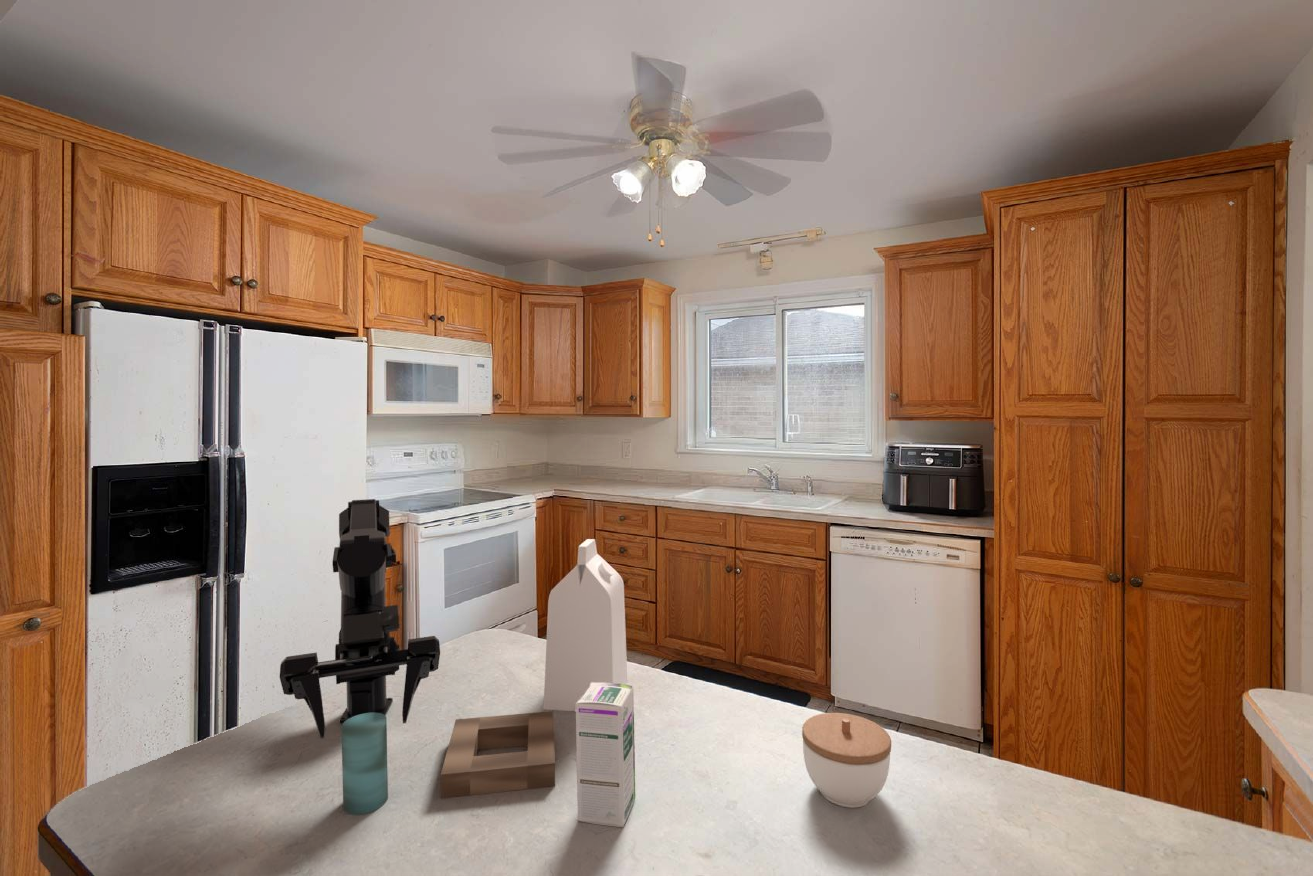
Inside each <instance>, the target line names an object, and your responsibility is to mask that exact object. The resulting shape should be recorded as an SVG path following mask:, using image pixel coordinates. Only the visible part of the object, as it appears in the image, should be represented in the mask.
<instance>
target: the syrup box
mask: <svg viewBox="0 0 1313 876" xmlns="http://www.w3.org/2000/svg"><path fill="white" fill-rule="evenodd" d="M575 705H576V711H575V740H576V741H575V742H576V745H575V747H576V748H575V750H576V781H577V782H576V786H577V787H576V788H577V789H576V790H577V793H576V795H577V820H578V821H580V822H583V823H589V824H594V825H600V826H601V825H602V826H609V827H617V828H624V827H625V823H626V821H627V820H628V818H629V814H630V812H631V810H632V807H633V805H634V802H635V800H636V764H635V763H636V760H635V759H636V758H635V757H636V755H635V754H636V753H635V747H636V745H635V709H634V708H635V707H634V705H635V701H634V686H633V685H629V684H626V685H624V684H617V683H593V682H591V683H590V685H589V687H588V688H587V690H586V691H585V692H584V693H583V694H582V696H581V697H580V699H579V700H578V701H577V703H576V704H575Z"/></svg>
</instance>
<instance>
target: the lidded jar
mask: <svg viewBox="0 0 1313 876" xmlns="http://www.w3.org/2000/svg"><path fill="white" fill-rule="evenodd" d="M801 730H802V731H801V735H802V751H803V752H802V753H803V759H804V765H805V768H806V771H807V774H808V776H809V778H810V780H811V782H812V783H813V784H814V786H815V787H816V789H818V791H820V793H821V795H822V796H823V798H824V799H826V801H828V802H830V803H832V804H834V805H836V806H839V807H842V808H848V809H849V808H850V809H854V808H856V809H857V808H861V807H865V806H866V805H868V804H869V802H870V801H871V800H873V799H875V797H877V796H878V795H879V793H880V792H881V791H882V790H883V789H884V786H885V784H886V781H887V779H888V776H889V772H890V771H889V770H890V765H891V764H890V762H891V761H890V760H891V751H892V739H891V736H890V735H889V733H888V732H887V731H886V729H885V728H883V727H882V725H879V724H878V723H876V722H874V721H873V720H870V719H868V718H865V717H863V716H859V715H854V714H851V713H841V712H827V713H820V714H816V715H813V716H811V717H809V718H808V719H806V721H804V723H803V725H802V729H801Z"/></svg>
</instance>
